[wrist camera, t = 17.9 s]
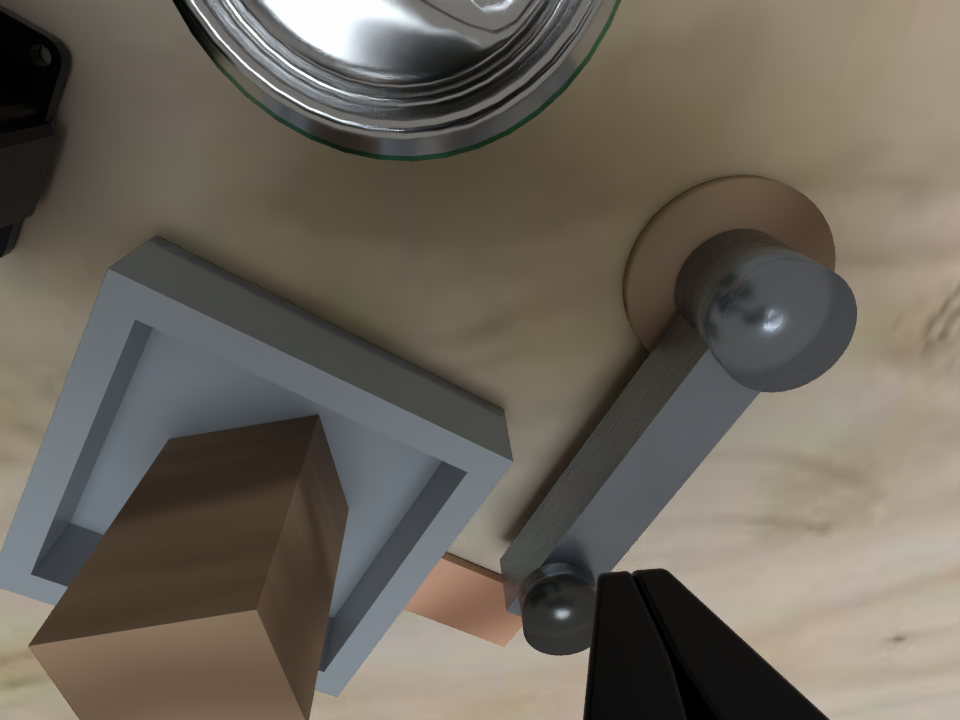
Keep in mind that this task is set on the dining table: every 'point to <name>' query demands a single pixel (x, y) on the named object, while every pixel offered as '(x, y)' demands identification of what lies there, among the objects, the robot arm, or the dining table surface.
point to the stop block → (207, 584)
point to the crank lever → (674, 419)
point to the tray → (244, 402)
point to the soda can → (400, 66)
